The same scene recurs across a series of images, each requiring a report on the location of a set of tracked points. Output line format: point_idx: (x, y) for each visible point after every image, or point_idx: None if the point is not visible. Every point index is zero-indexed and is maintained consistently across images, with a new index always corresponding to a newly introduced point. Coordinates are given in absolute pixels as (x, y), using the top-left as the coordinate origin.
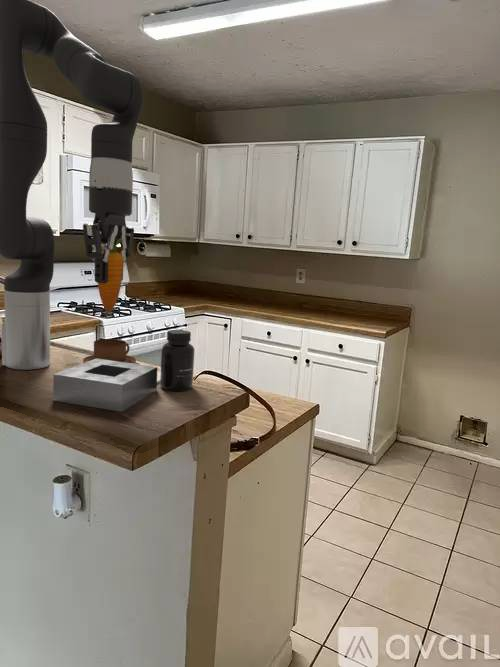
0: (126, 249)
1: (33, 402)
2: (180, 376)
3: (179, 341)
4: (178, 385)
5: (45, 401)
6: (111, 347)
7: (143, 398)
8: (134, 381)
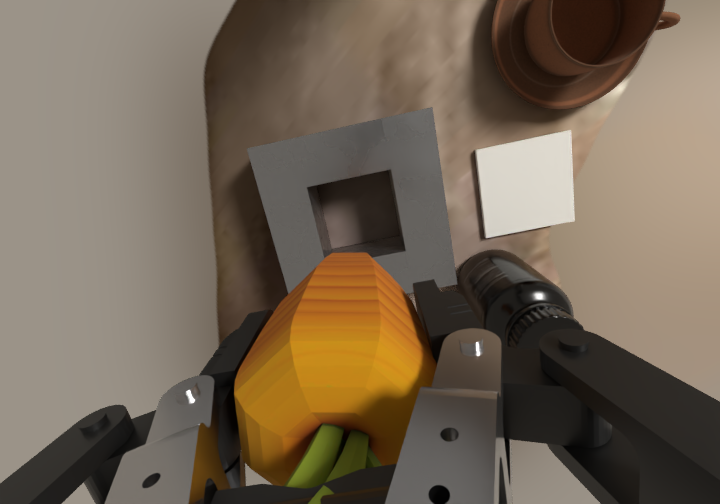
0: (586, 473)
1: (230, 124)
2: None
3: None
4: None
5: (250, 138)
6: (558, 52)
7: None
8: None
